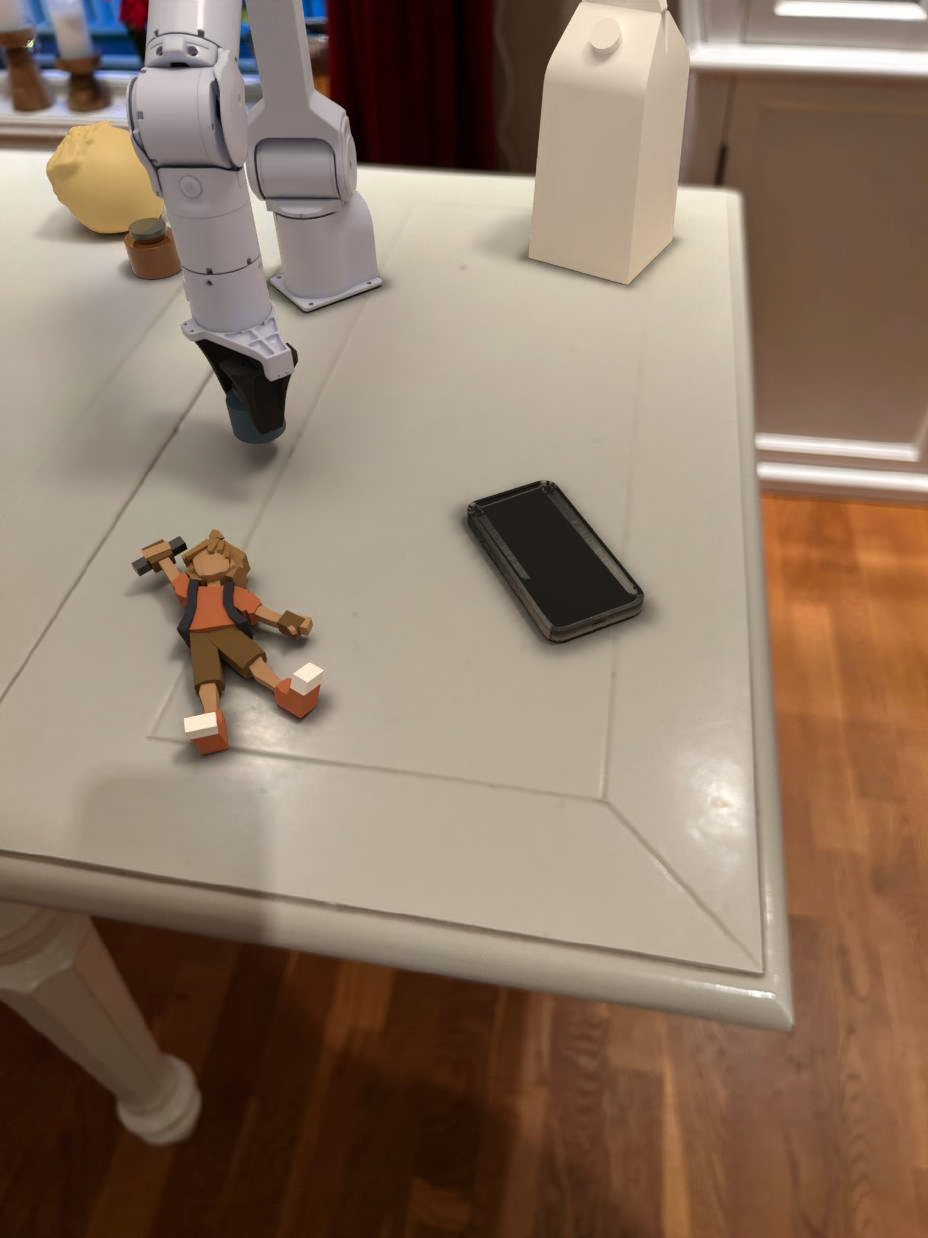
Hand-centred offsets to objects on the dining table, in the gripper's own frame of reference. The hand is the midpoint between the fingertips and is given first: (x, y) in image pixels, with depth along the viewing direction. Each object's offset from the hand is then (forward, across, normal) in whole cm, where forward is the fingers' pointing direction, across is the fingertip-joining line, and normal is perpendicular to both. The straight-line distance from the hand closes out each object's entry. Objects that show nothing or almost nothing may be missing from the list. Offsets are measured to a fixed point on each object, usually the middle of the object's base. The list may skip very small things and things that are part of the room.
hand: (256, 413), depth 75 cm
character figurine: (+4, +18, -12) cm, 22 cm away
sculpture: (+4, -50, +7) cm, 51 cm away
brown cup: (+4, -37, +6) cm, 38 cm away
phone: (+4, +25, +11) cm, 28 cm away
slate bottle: (+1, 0, 0) cm, 1 cm away
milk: (+4, -10, +47) cm, 48 cm away
